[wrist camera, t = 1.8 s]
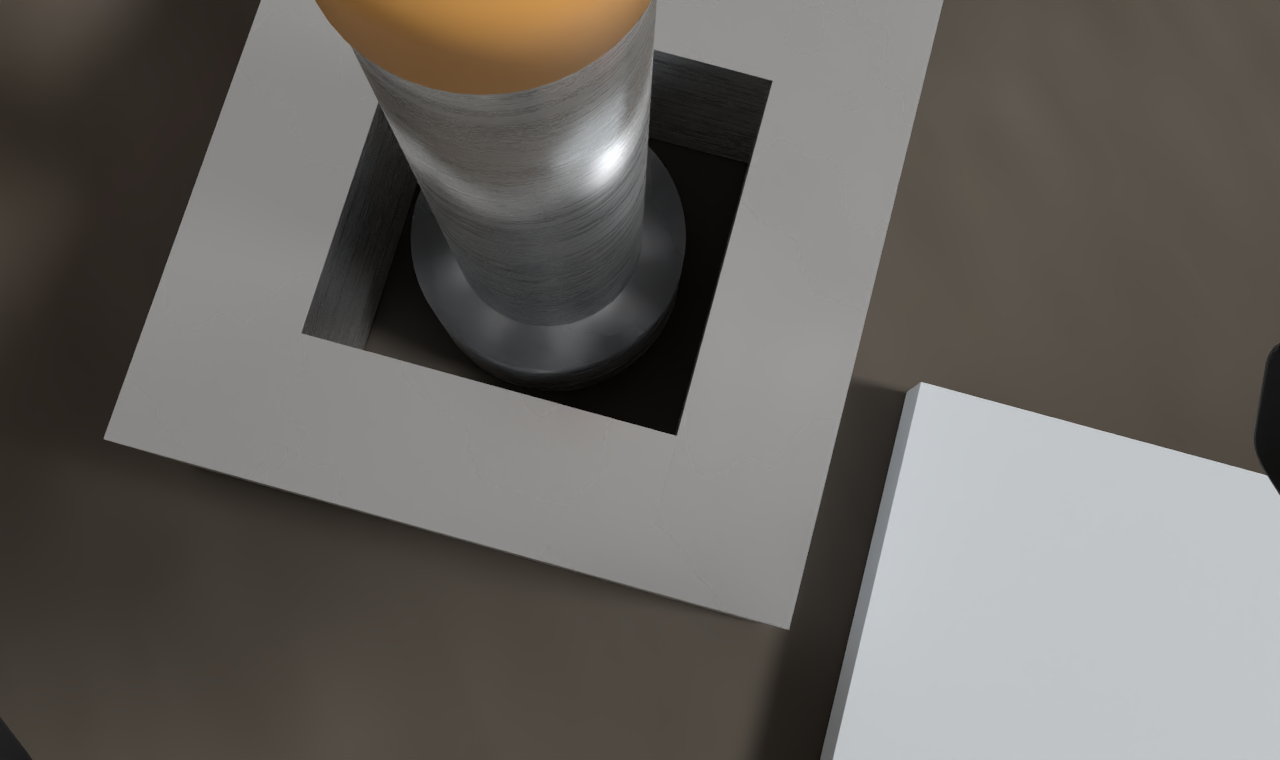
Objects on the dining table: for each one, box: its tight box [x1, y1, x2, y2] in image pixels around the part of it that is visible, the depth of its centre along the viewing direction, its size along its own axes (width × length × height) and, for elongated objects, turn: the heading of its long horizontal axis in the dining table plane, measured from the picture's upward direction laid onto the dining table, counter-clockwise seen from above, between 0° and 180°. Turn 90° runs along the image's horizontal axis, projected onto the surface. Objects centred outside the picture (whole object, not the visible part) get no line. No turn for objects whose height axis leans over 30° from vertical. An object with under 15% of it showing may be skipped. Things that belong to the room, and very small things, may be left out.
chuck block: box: [104, 0, 943, 630], centre depth 19 cm, size 10×10×4 cm
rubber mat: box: [820, 382, 1280, 760], centre depth 19 cm, size 9×9×1 cm
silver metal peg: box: [315, 0, 686, 391], centre depth 14 cm, size 4×4×13 cm
